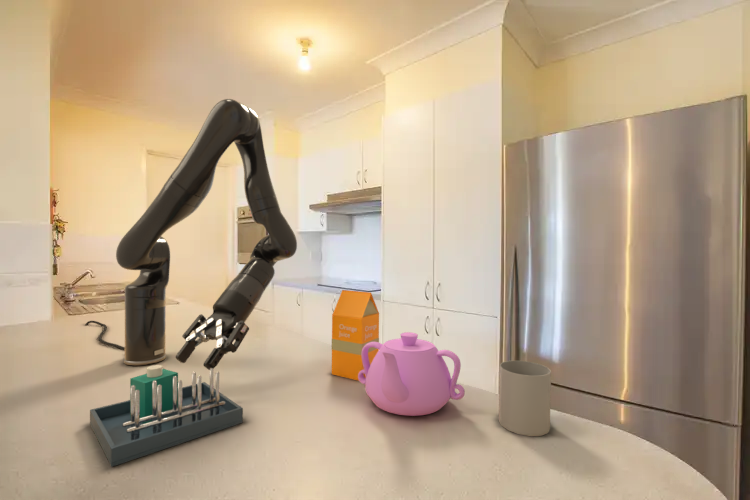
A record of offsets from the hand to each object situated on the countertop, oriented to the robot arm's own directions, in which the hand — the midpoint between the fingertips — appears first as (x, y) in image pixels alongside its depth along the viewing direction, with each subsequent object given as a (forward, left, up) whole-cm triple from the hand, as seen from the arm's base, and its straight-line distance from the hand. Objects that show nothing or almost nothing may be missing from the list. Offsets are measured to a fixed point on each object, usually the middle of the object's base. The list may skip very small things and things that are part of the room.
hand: (193, 364), depth 75 cm
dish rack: (+11, -6, -7) cm, 15 cm away
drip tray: (+6, -6, -7) cm, 12 cm away
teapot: (+30, +29, -8) cm, 42 cm away
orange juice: (+9, +34, -8) cm, 37 cm away
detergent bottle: (+2, -7, -7) cm, 10 cm away
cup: (+49, +39, -8) cm, 63 cm away
